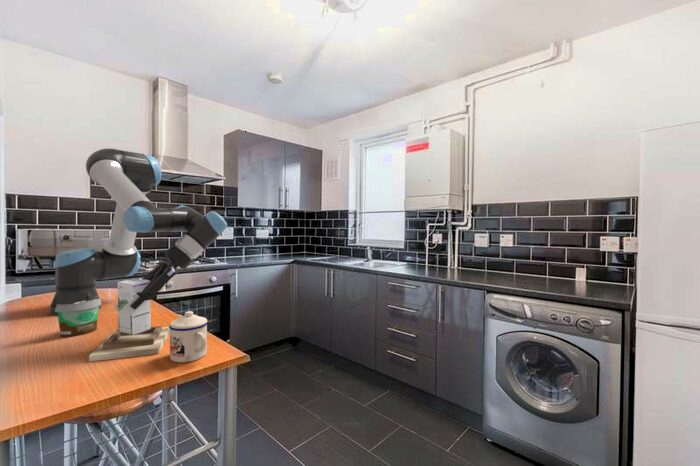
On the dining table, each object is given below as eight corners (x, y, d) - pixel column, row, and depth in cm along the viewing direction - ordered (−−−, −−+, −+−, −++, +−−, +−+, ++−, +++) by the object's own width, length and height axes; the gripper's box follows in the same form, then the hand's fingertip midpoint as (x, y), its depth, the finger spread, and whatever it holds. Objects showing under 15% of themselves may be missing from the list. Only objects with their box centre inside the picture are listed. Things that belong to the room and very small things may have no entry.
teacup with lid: (162, 357, 82) (162, 312, 82) (196, 346, 90) (196, 305, 89) (186, 370, 76) (186, 321, 75) (221, 357, 83) (221, 313, 83)
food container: (71, 340, 92) (71, 306, 92) (55, 338, 94) (54, 304, 93) (111, 326, 104) (111, 296, 104) (96, 325, 106) (96, 295, 105)
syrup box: (151, 329, 92) (151, 279, 91) (131, 335, 86) (131, 282, 86) (137, 326, 94) (137, 277, 93) (117, 333, 88) (116, 281, 88)
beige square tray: (113, 336, 96) (113, 326, 96) (170, 331, 101) (170, 322, 101) (89, 361, 79) (89, 349, 79) (158, 353, 84) (158, 342, 84)
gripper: (203, 264, 92) (136, 331, 82) (184, 257, 107) (126, 312, 97) (182, 246, 88) (110, 314, 78) (166, 242, 103) (104, 298, 93)
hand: (119, 313), depth 88 cm, fingers closed on syrup box, 8 cm apart
